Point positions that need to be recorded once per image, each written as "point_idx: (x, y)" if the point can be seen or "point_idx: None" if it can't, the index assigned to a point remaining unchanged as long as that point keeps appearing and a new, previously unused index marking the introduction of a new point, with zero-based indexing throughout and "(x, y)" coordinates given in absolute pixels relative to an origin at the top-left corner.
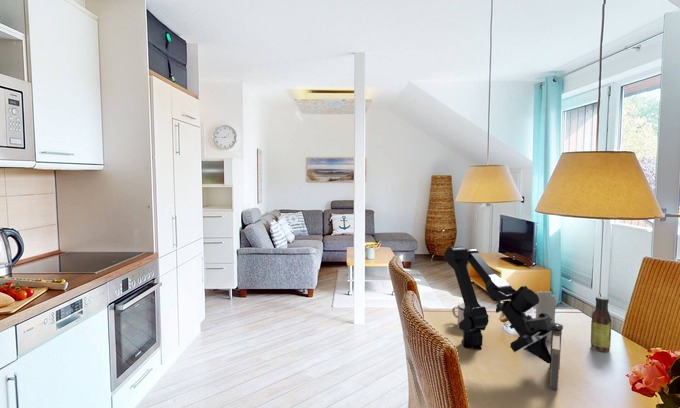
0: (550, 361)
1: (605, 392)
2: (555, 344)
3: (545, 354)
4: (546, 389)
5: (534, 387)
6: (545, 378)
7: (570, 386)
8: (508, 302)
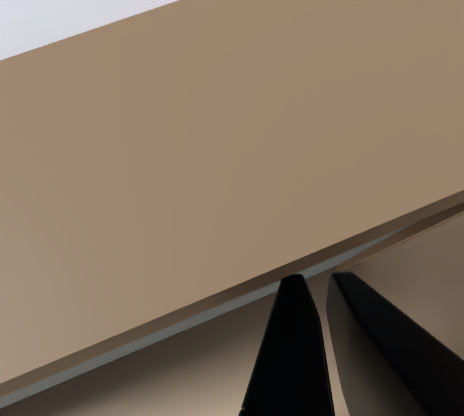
0: (352, 276)
1: (68, 15)
2: (359, 95)
3: (451, 358)
4: (395, 275)
5: (459, 353)
6: (219, 367)
7: None
8: None
